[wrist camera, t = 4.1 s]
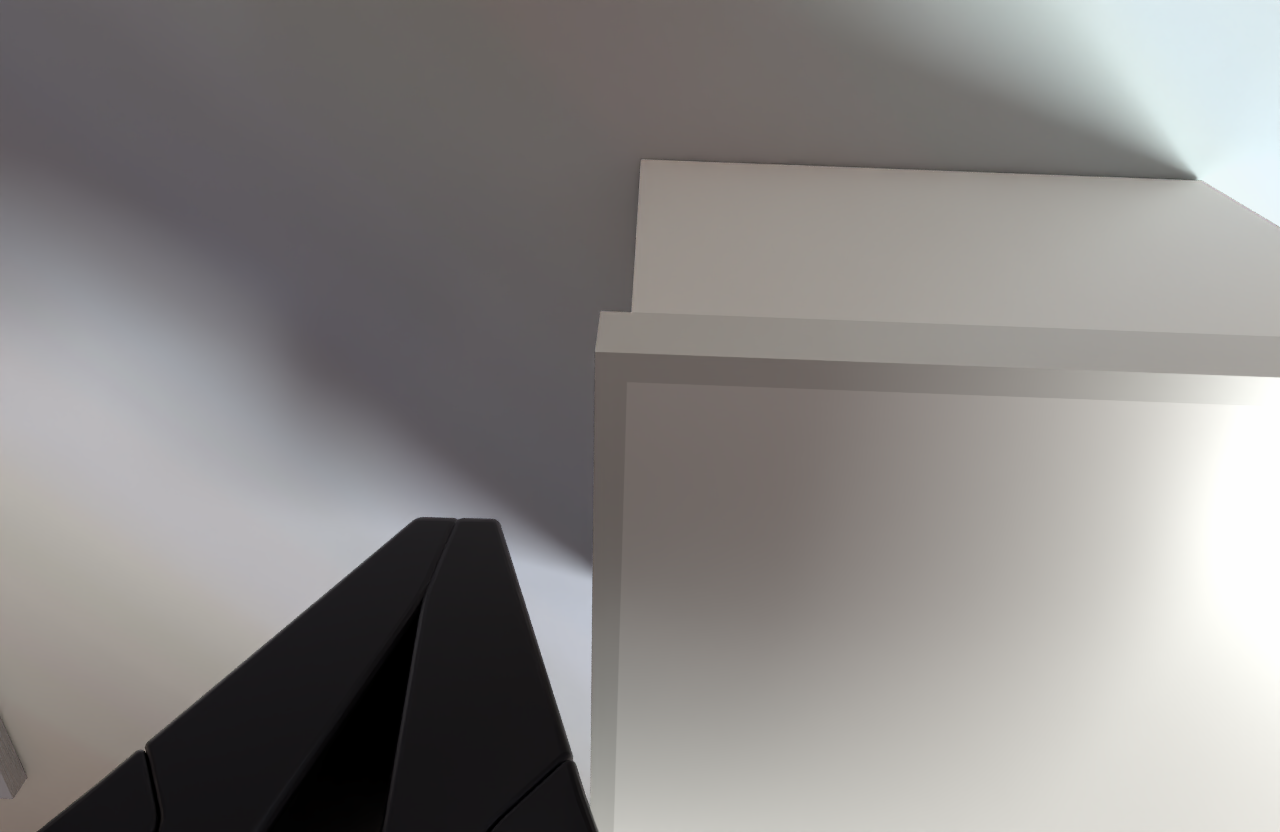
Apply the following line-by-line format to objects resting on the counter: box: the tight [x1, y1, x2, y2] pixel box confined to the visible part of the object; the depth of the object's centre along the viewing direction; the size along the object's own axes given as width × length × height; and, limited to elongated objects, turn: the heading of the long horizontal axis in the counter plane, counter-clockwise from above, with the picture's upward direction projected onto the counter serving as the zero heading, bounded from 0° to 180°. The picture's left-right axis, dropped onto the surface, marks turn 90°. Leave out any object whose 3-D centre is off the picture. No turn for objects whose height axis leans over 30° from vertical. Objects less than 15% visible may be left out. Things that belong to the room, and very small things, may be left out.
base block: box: [590, 159, 1280, 832], centre depth 10 cm, size 6×6×5 cm
